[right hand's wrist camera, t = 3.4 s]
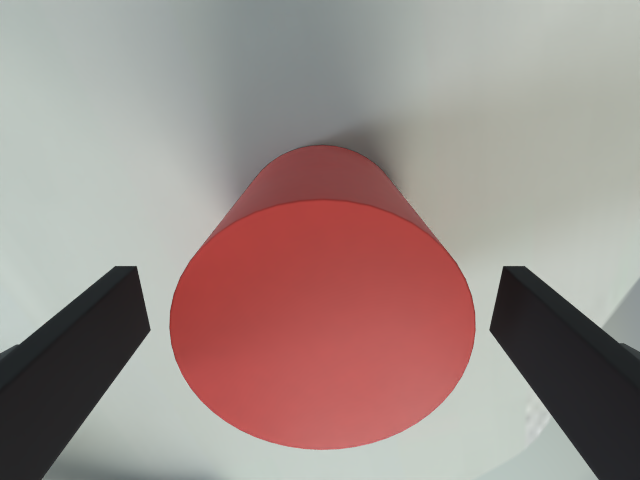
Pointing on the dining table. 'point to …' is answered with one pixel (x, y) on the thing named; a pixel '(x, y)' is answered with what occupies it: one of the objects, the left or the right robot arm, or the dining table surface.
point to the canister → (322, 307)
